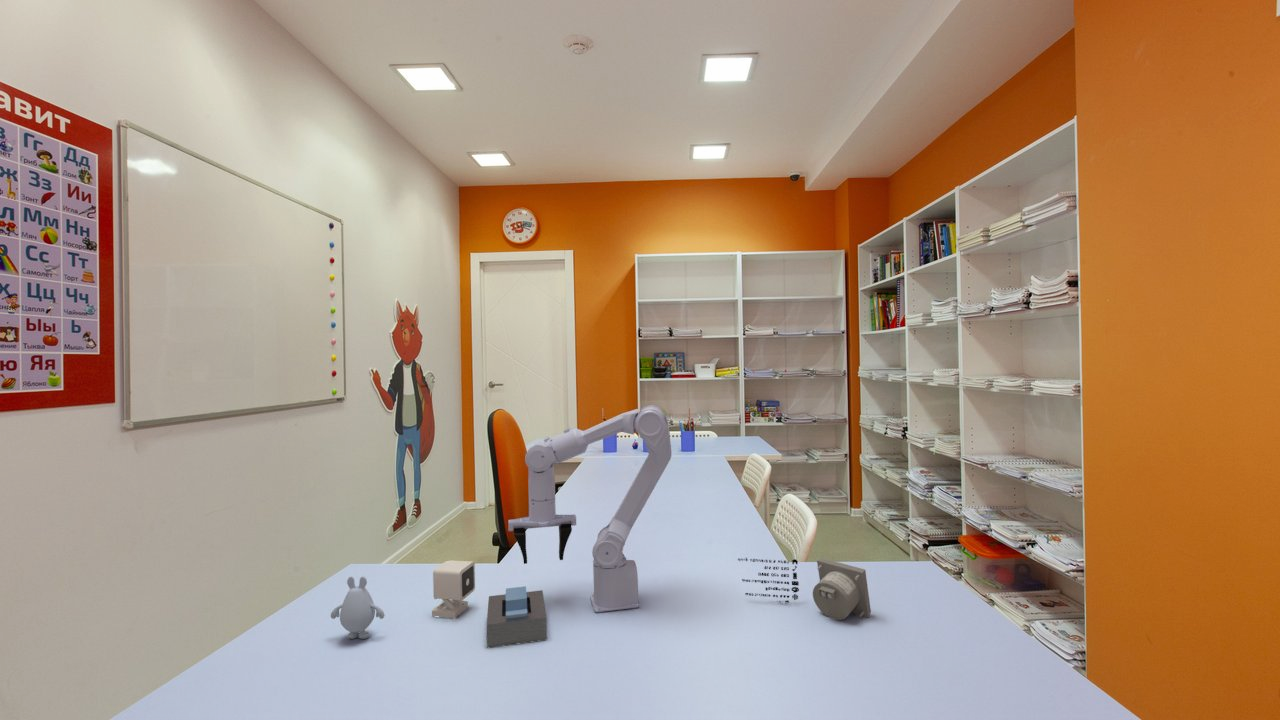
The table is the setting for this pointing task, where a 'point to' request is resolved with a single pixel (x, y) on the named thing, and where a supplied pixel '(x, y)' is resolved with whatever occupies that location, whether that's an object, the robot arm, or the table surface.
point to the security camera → (453, 587)
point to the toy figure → (357, 610)
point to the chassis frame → (516, 621)
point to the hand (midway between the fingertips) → (543, 560)
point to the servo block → (516, 602)
